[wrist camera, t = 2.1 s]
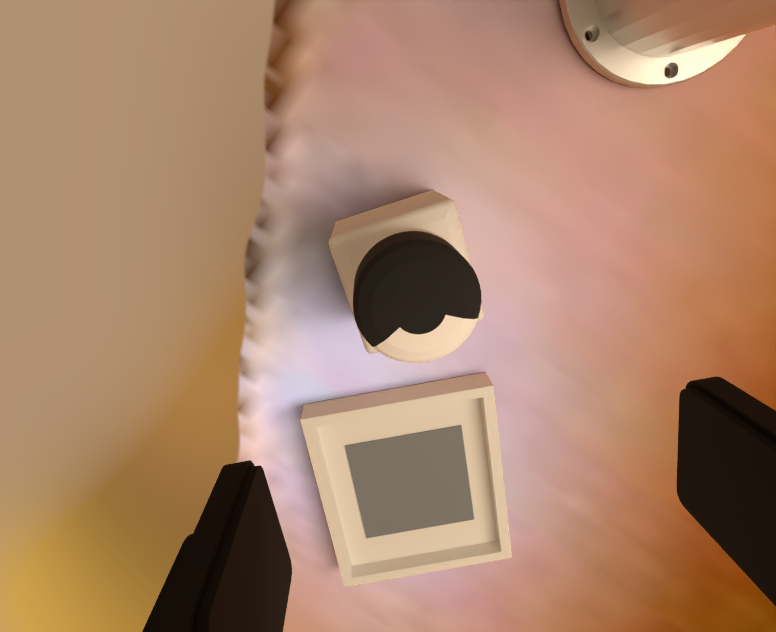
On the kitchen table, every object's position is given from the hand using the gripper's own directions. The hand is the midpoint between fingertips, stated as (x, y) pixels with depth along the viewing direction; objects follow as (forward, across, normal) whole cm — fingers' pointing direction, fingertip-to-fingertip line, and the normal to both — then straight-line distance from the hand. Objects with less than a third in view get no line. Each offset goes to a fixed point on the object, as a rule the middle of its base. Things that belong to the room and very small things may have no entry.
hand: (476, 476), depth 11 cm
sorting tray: (+24, +2, +18) cm, 30 cm away
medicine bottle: (+24, 0, 0) cm, 24 cm away
